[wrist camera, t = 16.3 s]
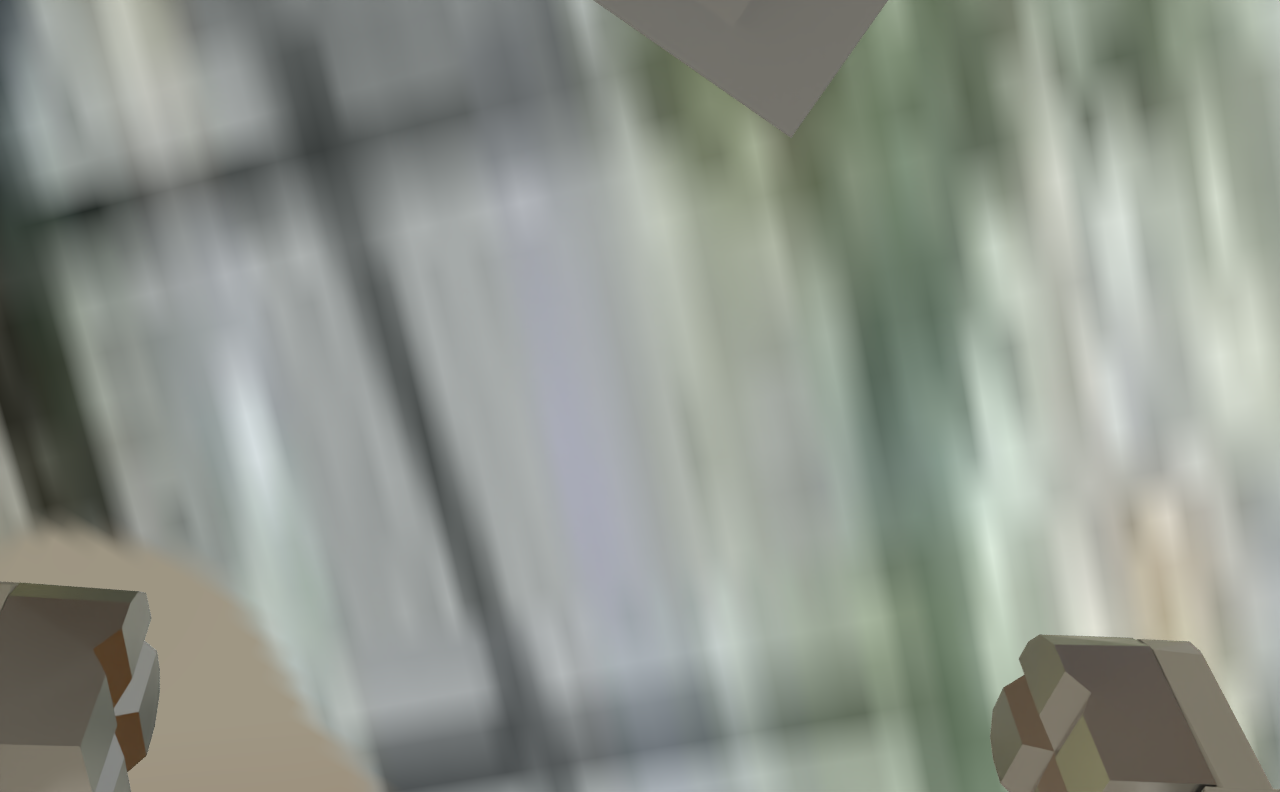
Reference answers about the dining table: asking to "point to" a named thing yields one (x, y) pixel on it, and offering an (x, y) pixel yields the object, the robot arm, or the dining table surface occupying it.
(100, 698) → the robot arm
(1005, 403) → the dining table surface
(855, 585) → the dining table surface
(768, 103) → the socket
